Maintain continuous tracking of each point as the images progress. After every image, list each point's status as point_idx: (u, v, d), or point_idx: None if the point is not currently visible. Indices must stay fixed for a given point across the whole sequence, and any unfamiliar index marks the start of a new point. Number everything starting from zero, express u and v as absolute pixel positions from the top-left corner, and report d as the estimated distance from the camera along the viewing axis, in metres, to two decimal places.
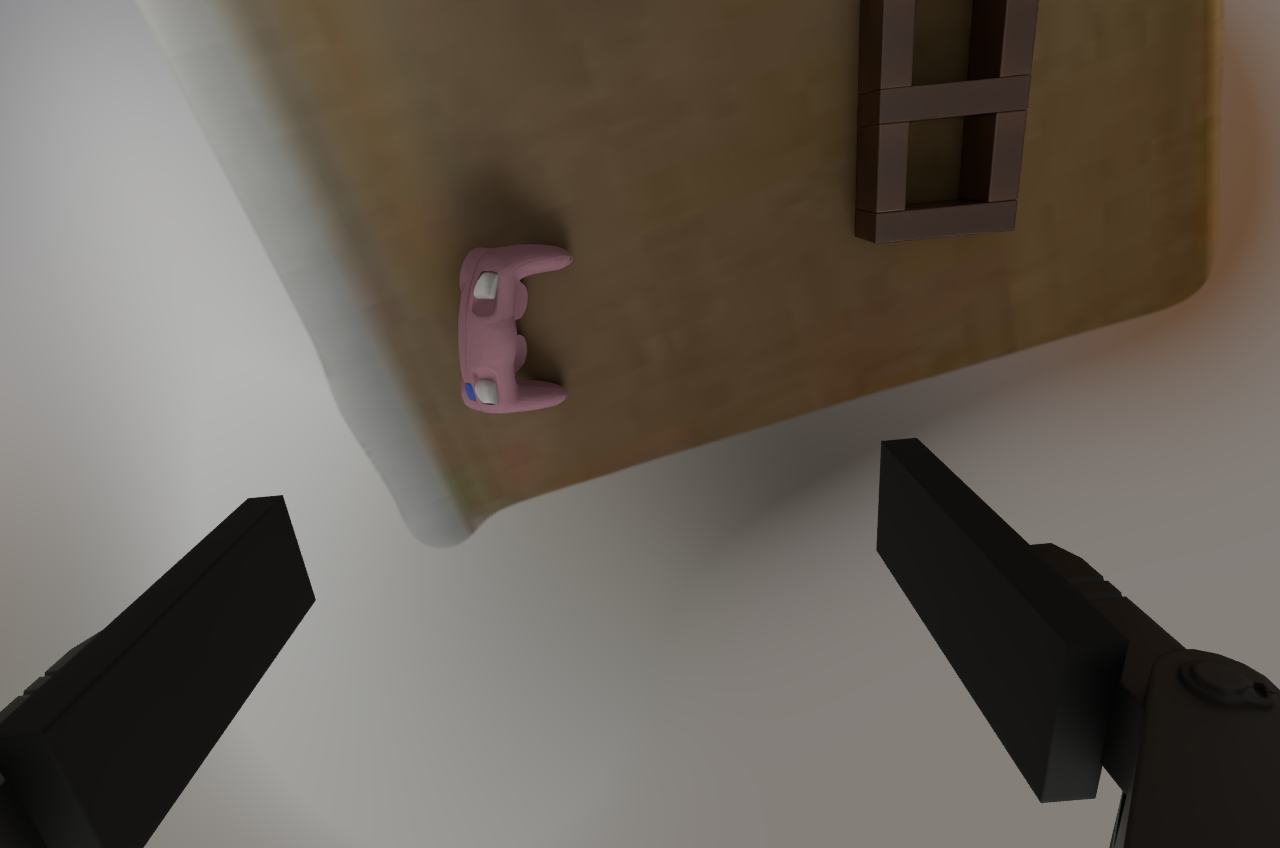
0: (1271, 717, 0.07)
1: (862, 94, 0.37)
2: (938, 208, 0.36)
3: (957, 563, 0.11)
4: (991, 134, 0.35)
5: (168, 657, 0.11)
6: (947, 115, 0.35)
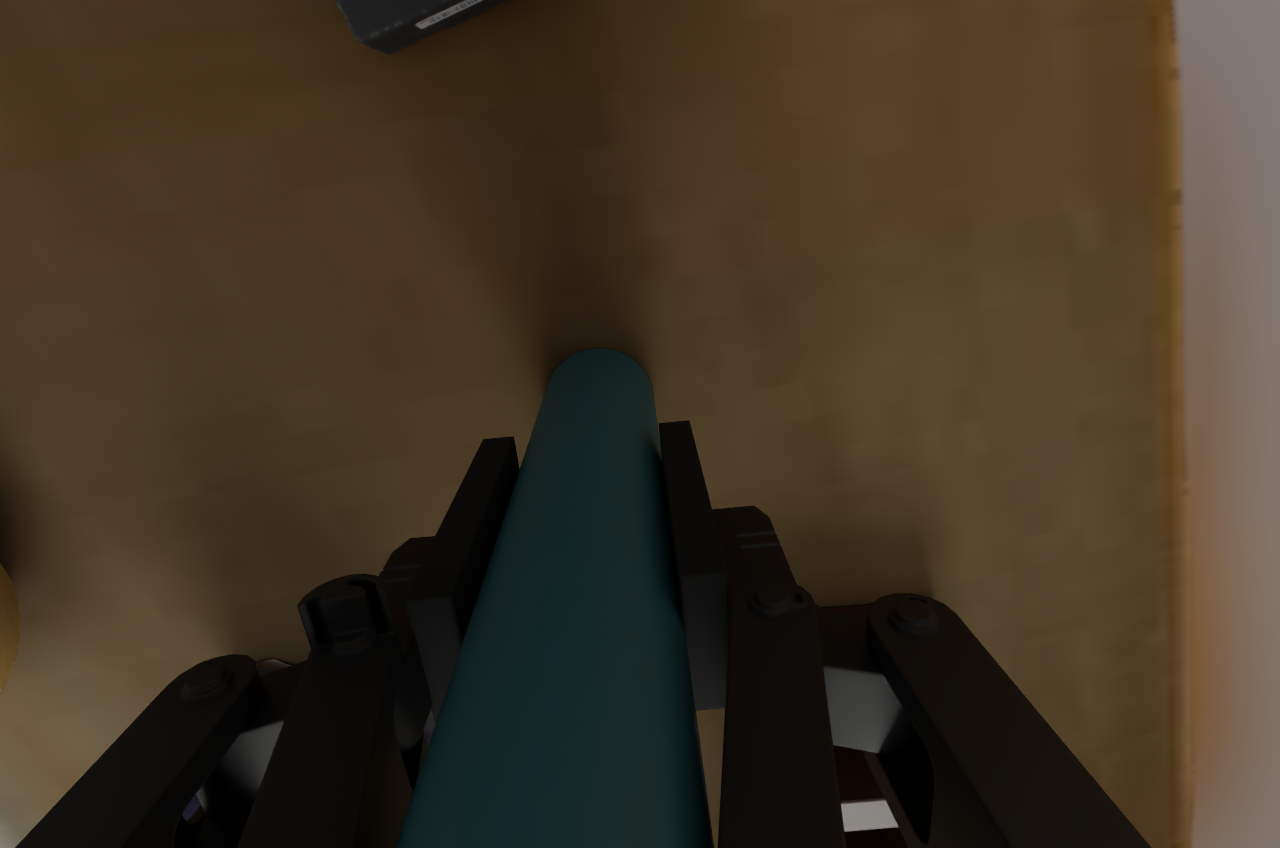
0: (806, 616, 0.10)
1: None
2: None
3: (670, 522, 0.13)
4: None
5: (485, 555, 0.13)
6: None
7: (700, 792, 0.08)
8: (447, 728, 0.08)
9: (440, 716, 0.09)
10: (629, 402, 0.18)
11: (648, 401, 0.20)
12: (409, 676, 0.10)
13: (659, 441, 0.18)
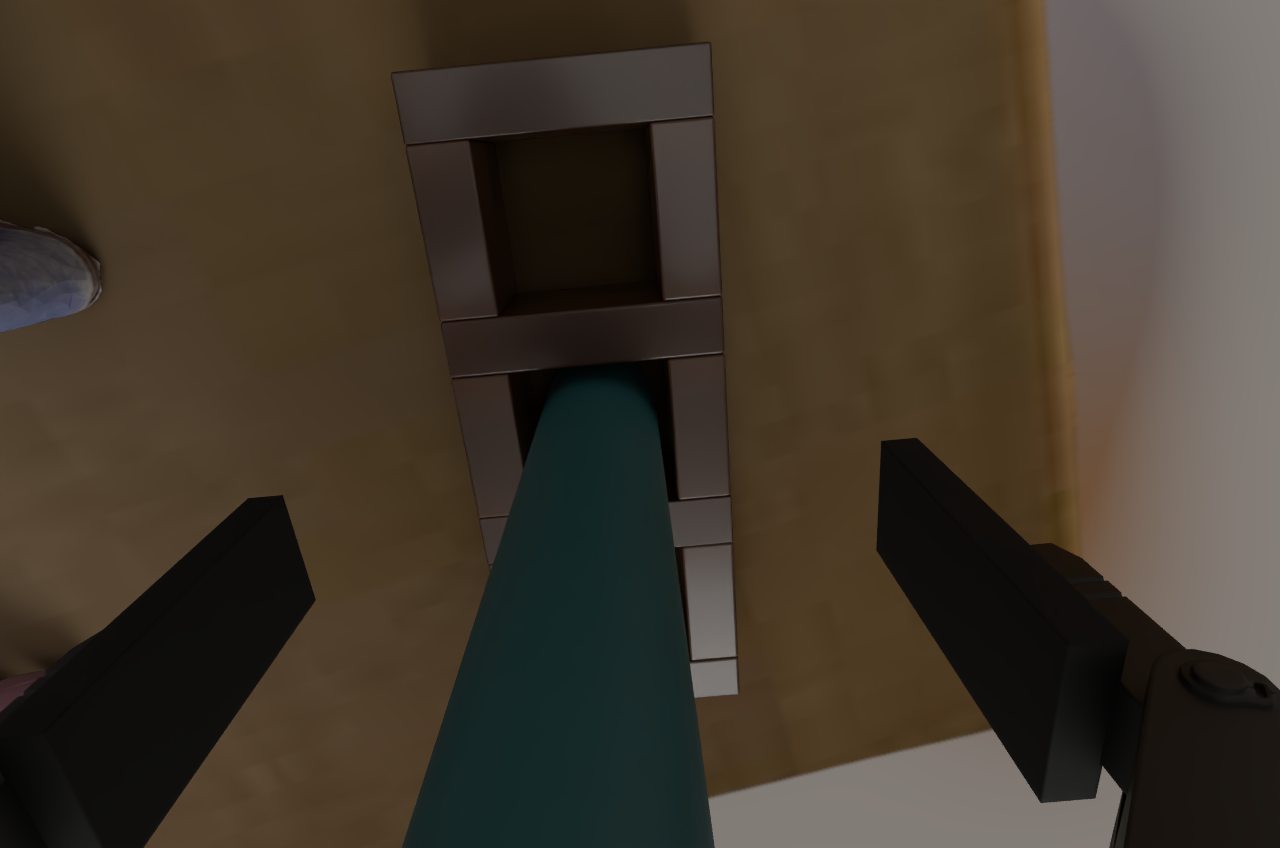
0: (1271, 717, 0.07)
1: None
2: None
3: (957, 563, 0.11)
4: (682, 569, 0.22)
5: (168, 657, 0.11)
6: None
7: (701, 796, 0.08)
8: (452, 733, 0.08)
9: (445, 721, 0.09)
10: (630, 406, 0.18)
11: (649, 405, 0.20)
12: None
13: (660, 445, 0.18)
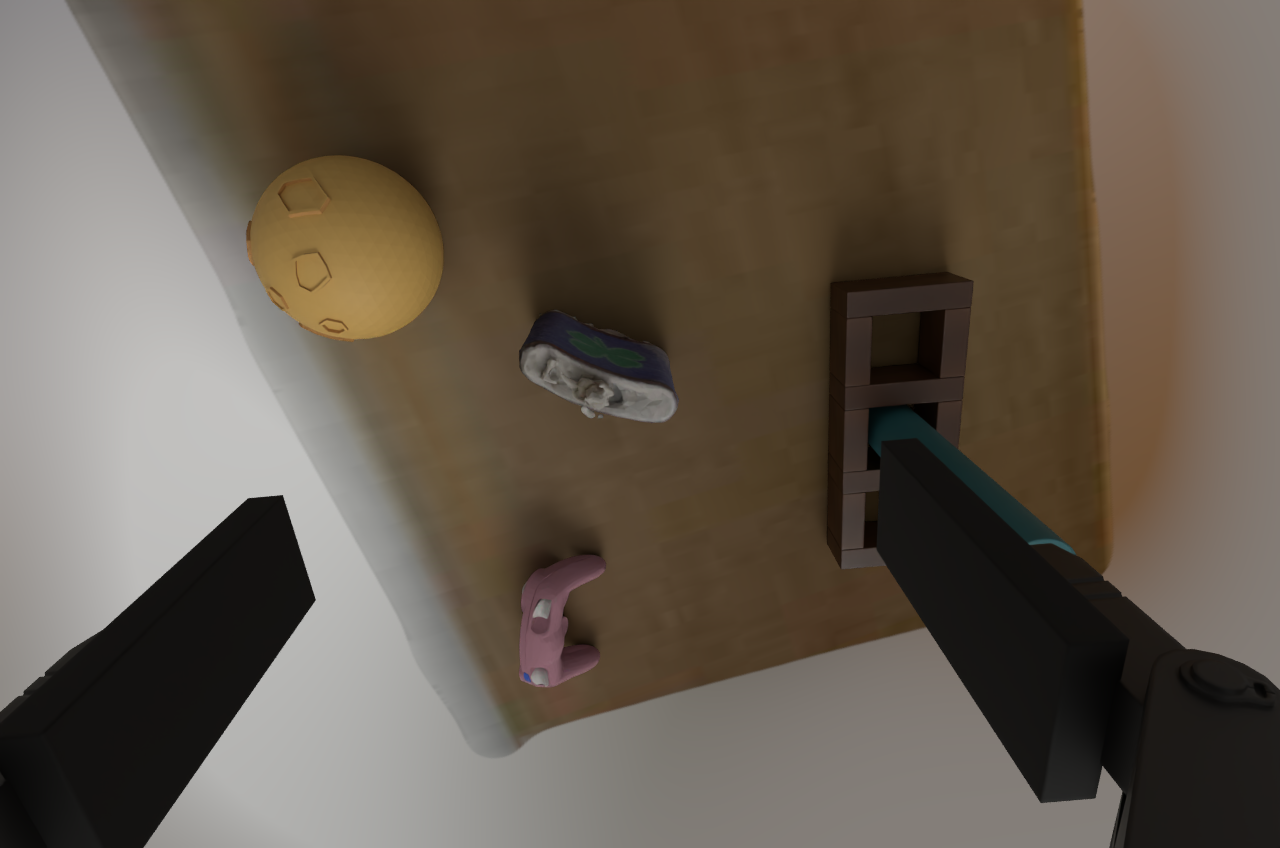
0: (1271, 717, 0.07)
1: (831, 456, 0.48)
2: None
3: (957, 563, 0.11)
4: None
5: (168, 657, 0.11)
6: None
7: None
8: None
9: None
10: (926, 422, 0.43)
11: None
12: None
13: None
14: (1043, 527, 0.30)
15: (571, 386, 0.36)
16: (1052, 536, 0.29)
